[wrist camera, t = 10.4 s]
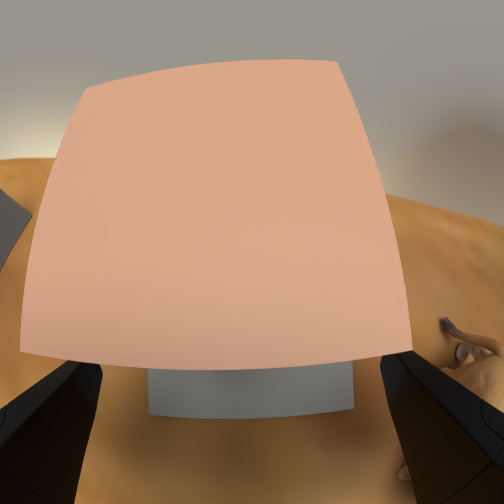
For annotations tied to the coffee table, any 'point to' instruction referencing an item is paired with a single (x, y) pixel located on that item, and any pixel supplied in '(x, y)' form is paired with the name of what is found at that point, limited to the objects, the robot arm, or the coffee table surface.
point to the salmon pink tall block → (216, 226)
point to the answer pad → (251, 391)
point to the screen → (10, 224)
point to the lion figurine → (476, 370)
